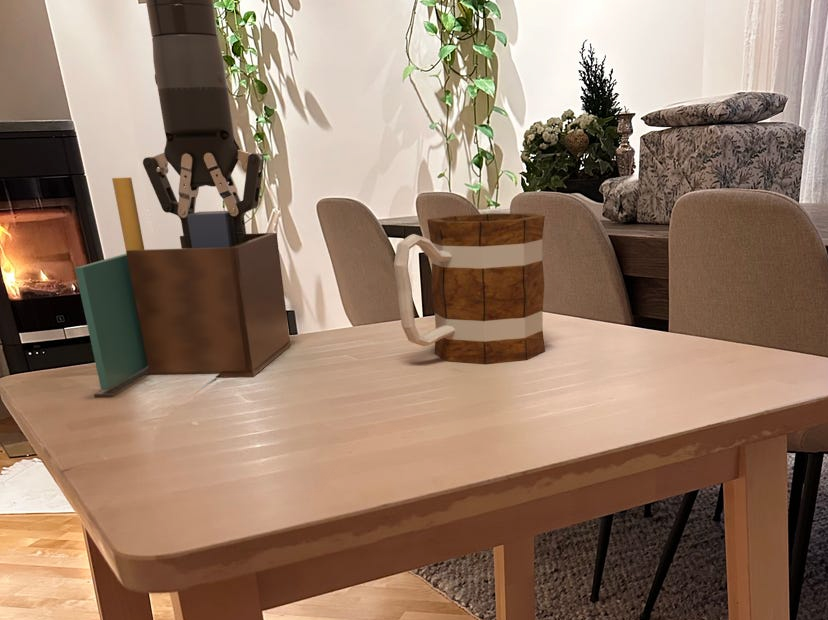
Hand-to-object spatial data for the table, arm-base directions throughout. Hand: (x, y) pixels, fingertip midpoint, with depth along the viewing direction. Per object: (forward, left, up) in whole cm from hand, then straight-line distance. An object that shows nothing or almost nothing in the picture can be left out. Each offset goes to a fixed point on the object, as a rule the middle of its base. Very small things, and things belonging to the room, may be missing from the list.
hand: (217, 250), depth 113 cm
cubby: (-1, -9, -12) cm, 15 cm away
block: (0, 0, 0) cm, 0 cm away
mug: (+30, -3, -12) cm, 33 cm away
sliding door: (-7, -13, -11) cm, 19 cm away
